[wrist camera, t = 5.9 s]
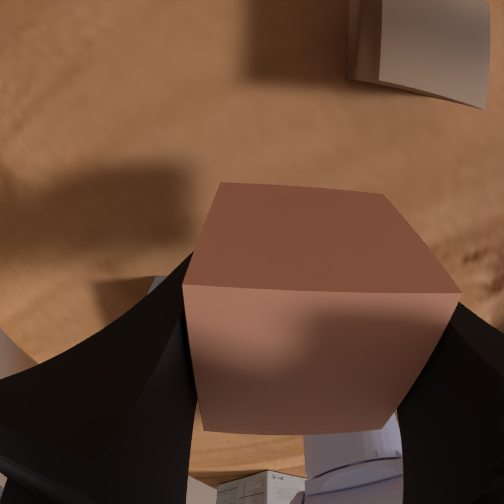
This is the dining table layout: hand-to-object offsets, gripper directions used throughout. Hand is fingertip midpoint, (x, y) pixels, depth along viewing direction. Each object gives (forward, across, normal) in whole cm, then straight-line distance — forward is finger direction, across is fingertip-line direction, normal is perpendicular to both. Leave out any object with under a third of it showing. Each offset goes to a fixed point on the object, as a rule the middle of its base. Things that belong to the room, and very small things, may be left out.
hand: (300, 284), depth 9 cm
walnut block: (+8, -5, -9) cm, 13 cm away
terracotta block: (+1, 0, 0) cm, 1 cm away
